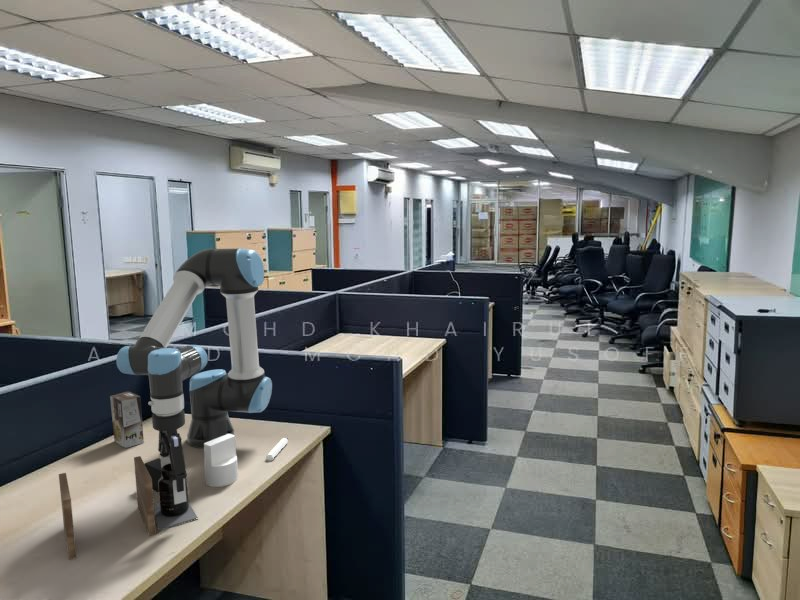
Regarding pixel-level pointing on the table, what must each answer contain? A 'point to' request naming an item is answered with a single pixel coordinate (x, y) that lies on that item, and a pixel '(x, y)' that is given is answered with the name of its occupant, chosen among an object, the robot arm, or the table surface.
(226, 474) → the base with upright slab
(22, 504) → the table surface
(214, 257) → the robot arm
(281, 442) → the marker
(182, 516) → the zone mat
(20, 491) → the table surface
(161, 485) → the supplement bottle
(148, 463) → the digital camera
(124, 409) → the coffee box
